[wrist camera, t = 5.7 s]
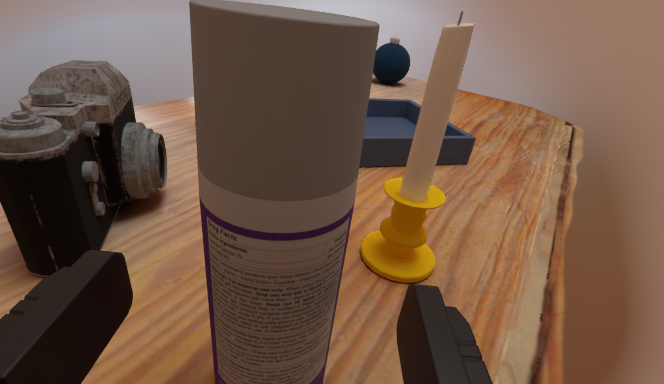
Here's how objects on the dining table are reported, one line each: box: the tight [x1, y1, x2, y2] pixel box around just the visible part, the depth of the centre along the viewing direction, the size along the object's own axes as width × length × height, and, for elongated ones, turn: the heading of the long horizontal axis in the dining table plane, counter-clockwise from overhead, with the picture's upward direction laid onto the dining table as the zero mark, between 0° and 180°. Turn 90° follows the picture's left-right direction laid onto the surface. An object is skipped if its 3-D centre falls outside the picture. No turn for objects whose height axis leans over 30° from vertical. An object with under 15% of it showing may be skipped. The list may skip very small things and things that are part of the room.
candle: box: [361, 12, 474, 283], centre depth 21 cm, size 5×5×16 cm
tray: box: [359, 98, 476, 167], centre depth 44 cm, size 18×16×3 cm
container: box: [189, 0, 379, 384], centre depth 12 cm, size 5×5×15 cm
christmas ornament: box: [373, 38, 410, 83], centre depth 76 cm, size 8×8×10 cm
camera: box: [0, 61, 167, 277], centre depth 23 cm, size 15×7×10 cm, turn 16°
